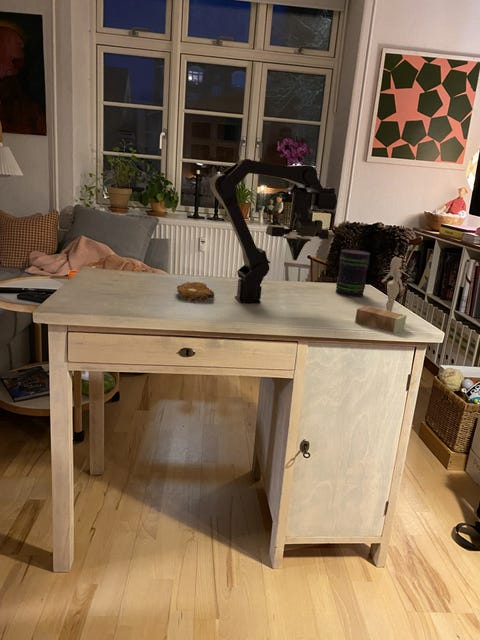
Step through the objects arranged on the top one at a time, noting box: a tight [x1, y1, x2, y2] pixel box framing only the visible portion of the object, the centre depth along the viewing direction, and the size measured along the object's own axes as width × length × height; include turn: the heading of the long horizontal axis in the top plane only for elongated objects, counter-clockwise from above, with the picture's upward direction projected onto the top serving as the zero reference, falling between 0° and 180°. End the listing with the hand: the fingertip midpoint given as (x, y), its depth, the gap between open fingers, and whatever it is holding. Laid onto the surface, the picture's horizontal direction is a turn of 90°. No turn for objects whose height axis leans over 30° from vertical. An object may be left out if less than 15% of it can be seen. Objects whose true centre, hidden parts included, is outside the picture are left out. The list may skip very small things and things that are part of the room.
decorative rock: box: [176, 281, 215, 303], centre depth 154 cm, size 11×4×15 cm
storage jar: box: [335, 248, 371, 298], centre depth 175 cm, size 10×10×15 cm
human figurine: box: [381, 256, 406, 312], centre depth 149 cm, size 12×4×18 cm, turn 12°
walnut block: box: [354, 305, 407, 334], centre depth 140 cm, size 4×6×12 cm
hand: (294, 260), depth 156 cm, fingers closed
